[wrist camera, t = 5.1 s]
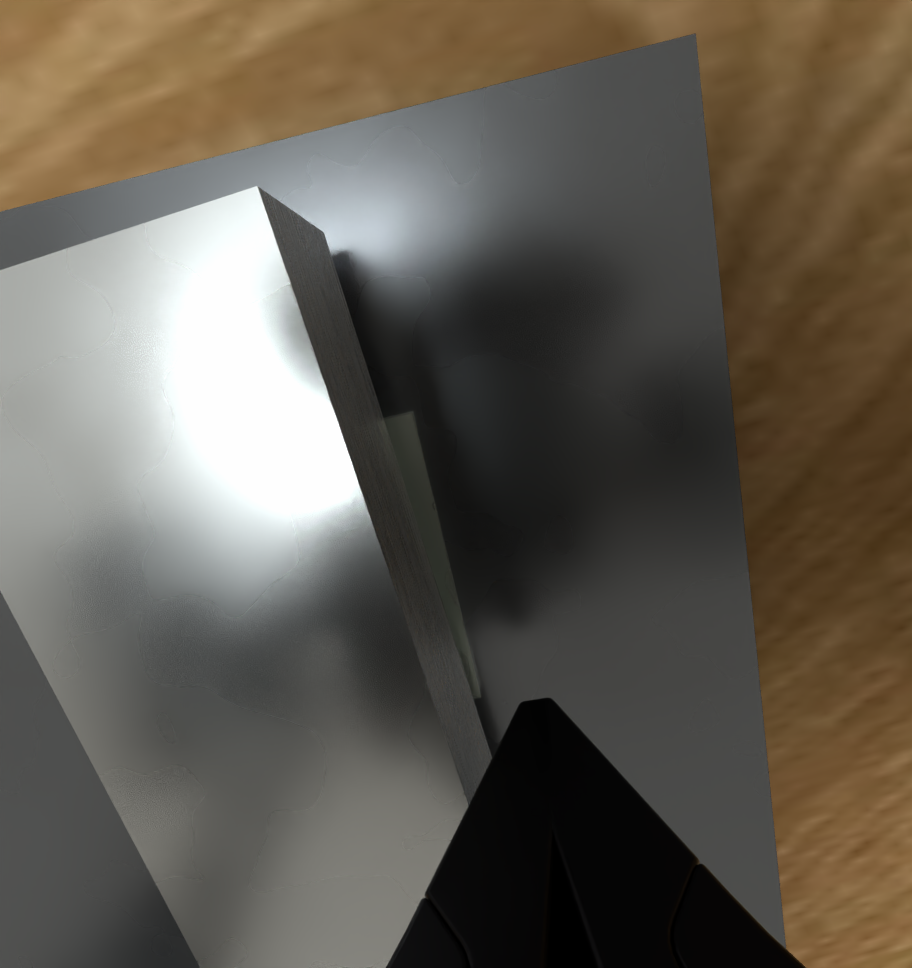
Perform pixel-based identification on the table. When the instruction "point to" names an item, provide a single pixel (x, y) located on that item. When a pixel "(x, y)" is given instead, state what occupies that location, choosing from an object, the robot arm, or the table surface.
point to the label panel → (485, 460)
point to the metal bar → (233, 581)
